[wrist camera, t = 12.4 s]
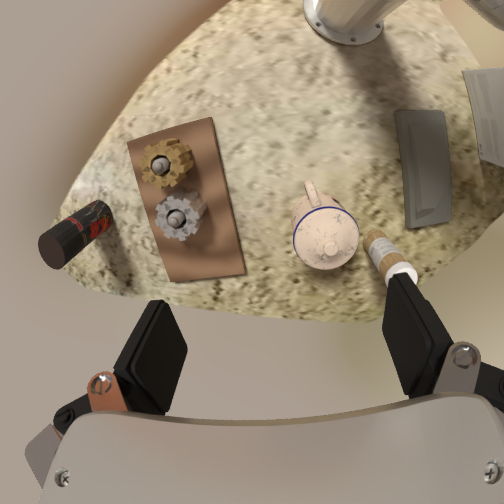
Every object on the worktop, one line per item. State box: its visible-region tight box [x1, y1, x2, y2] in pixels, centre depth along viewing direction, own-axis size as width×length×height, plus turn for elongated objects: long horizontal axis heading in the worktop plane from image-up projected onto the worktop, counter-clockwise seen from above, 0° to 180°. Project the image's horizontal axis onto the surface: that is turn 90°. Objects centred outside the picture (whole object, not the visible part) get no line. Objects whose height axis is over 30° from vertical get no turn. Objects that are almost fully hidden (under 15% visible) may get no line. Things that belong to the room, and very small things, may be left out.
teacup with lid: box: [291, 180, 359, 270], centre depth 37 cm, size 12×9×12 cm
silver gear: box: [155, 187, 207, 241], centre depth 40 cm, size 7×7×5 cm
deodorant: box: [38, 200, 113, 270], centre depth 38 cm, size 6×6×15 cm
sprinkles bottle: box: [363, 230, 418, 287], centre depth 38 cm, size 5×5×14 cm
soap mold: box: [394, 110, 451, 228], centre depth 36 cm, size 10×20×4 cm, turn 14°
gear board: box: [127, 117, 246, 282], centre depth 40 cm, size 26×14×8 cm, turn 11°
